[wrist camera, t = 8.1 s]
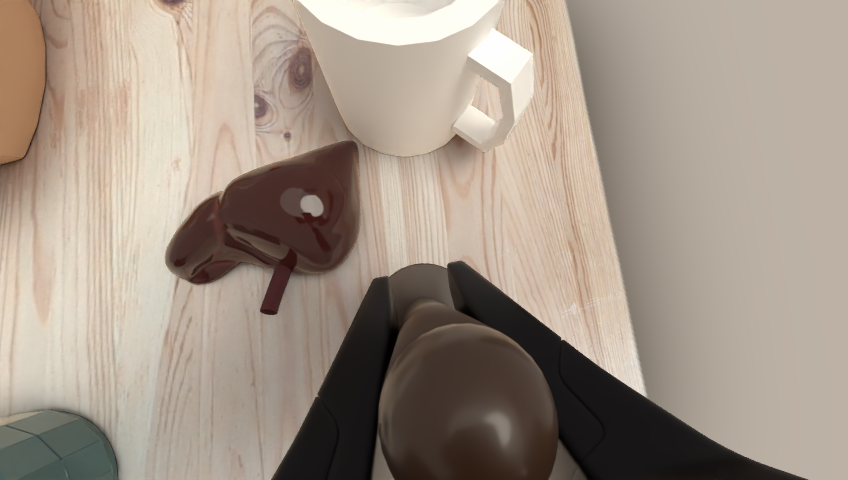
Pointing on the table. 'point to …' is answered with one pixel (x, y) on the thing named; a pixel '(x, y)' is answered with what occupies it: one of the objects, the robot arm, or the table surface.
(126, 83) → the table surface
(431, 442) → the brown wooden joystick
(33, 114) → the bowl
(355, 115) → the mug
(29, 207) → the table surface
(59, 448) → the stir bowl
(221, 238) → the liver model
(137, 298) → the table surface
